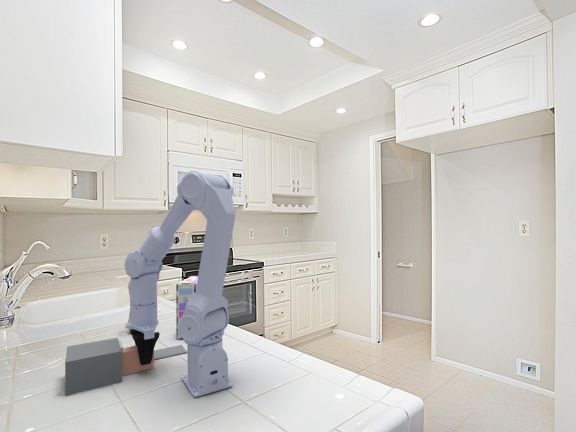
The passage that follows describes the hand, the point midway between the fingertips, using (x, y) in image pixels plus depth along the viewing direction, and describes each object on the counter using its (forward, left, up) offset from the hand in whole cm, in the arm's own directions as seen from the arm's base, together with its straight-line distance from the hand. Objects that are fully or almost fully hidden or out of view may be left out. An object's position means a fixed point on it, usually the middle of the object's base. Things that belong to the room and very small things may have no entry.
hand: (144, 361), depth 77 cm
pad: (+6, -4, -1) cm, 7 cm away
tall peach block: (0, +4, -1) cm, 4 cm away
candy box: (+19, -17, -2) cm, 25 cm away
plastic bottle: (+29, -3, -2) cm, 29 cm away
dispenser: (0, +10, -1) cm, 10 cm away
